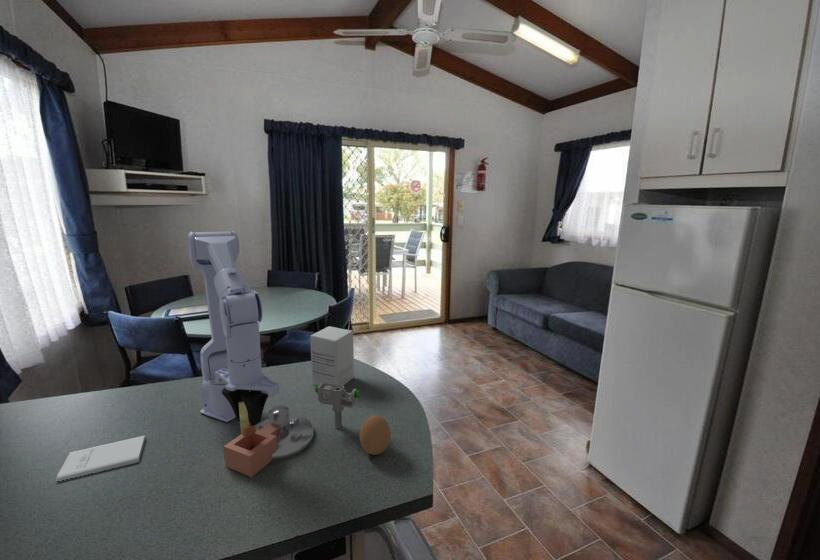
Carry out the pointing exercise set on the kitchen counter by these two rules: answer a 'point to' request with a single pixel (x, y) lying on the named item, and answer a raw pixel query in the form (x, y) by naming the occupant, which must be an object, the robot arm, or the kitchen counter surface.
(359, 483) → the kitchen counter surface
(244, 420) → the gold capsule
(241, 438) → the bracket
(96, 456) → the external hard drive
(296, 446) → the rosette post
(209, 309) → the robot arm
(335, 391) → the mechanical component
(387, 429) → the egg
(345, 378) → the supplement box
